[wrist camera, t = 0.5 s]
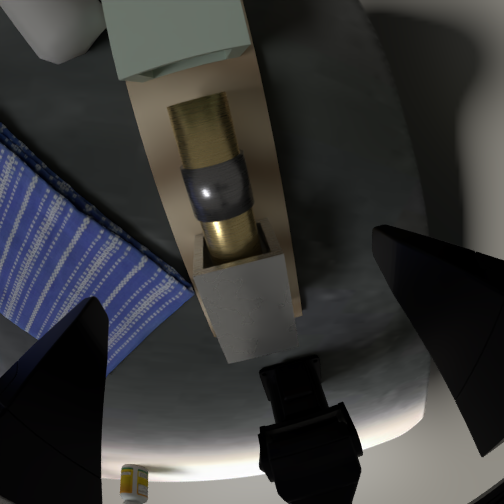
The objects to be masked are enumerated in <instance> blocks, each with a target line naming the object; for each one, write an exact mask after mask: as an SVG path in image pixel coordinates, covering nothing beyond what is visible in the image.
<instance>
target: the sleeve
mask: <svg viewBox="0 0 504 504" xmlns="http://www.w3.org/2000/svg"><path fill="white" fill-rule="evenodd" d="M255 221H256V226H257V230H258V235H259V239H260V244H261V248H262V253H263V254H262V255H258V256H254V257H250V258H246V259H242V260H238V261H234V262H230V263H226V264H222V265H218V266H214V265H213V262H212V259H211V255H210V252H209V249H208V246H207V243H206V240H205V237H204V234H199V235H196V236H195V240H194V257H193V279H194V282H195V284H196V287H197V289H198V292H199V294H200V297H201V299H202V302H203V304H204V307H205V309H206V312H207V314H208V317H209V319H210V322H211V324H212V326H213V329H214V331H215V334H216V336H217V338H218V341H219V343H220V345H221V348H222V350H223V352H224V354H225V357H226V359H227V361H228V364H229V363H234V362H238V361H243V360H247V359H252V358H256V357H260V356H264V355H268V354H272V353H276V352H280V351H284V350H288V349H292V348H295V347H299V343H298V337H297V330H296V324H295V318H294V311H293V305H292V299H291V293H290V287H289V281H288V275H287V269H286V263H285V258H284V253H283V251H282V249H281V246H280V244H279V242H278V240H277V237H276V235H275V233H274V231H273V229H272V226H271V224H270V222H269V220H268V217H267V218H263V219H259V220H255Z"/></svg>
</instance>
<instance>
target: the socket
mask: <svg viewBox="0 0 504 504" xmlns="http://www.w3.org/2000/svg"><path fill="white" fill-rule="evenodd" d="M101 1H102V6H103V11H104V17H105V22H106V26H107V31H108V36H109V40H110V45H111V49H112V54H113V58H114V62H115V66H116V70H117V74H118V78H119V80H122V81H132V82H141V83H143V82H146V81H149V80H152V79H155V78H158V77H161V76H164V75H168V74H171V73H174V72H178V71H181V70H185V69H189V68H192V67H196V66H200V65H204V64H208V63H213V62H217V61H222V60H226V59H231V58H236V57H240V56H241V54H242V53H243V52H244V51H245V50H246V49H247V48H248V47H249V46H250V45H251V42H250V38H249V34H248V30H247V26H246V22H245V17H244V13H243V9H242V5H241V2H240V0H101Z"/></svg>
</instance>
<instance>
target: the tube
mask: <svg viewBox="0 0 504 504" xmlns="http://www.w3.org/2000/svg"><path fill="white" fill-rule="evenodd" d="M0 6H1V7H2V9H3V10H4V11H5V13H6V14H7V15H8V17H9V18H10V20H11V21H12V22H13V24H14V25H15V26H16V28H17V29H18V30H19V32H20V33H21V34H22V36H23V37H24V38H25V40H26V41H27V42H28V43H29V45H30V46H31V47H32V49H33V50H34V51H35V53H36V54H37V55H38V56H39V58H41V59H44V60H47V61H50V62H53V63H56V64H60V63H63V62H66V61H68V60H71V59H73V58H75V57H78V56H80V55H83V54H86V52H87V51H88V50H89V48H90V47H91V46H92V44H93V43H94V42H95V40H96V39H97V38H98V37H99V35H100V34H101V33H102V32H103V31H104V30H105V29H106V28H107V26H106V22H105V17H104V11H103V6H102V4H101V3H100V2H99V1H98V0H0Z"/></svg>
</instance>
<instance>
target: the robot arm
mask: <svg viewBox="0 0 504 504" xmlns="http://www.w3.org/2000/svg"><path fill="white" fill-rule="evenodd" d="M372 252H373V256H374V258H375V260H376V262H377V264H378V266H379V268H380V270H381V271H382V273H383V275H384V277H385V279H386V281H387V283H388V285H389V287H390V289H391V291H392V293H393V294H394V296H395V298H396V299H397V301H398V302H399V304H400V305H401V307H402V309H403V310H404V312H405V313H406V315H407V317H408V318H409V320H410V321H411V323H412V325H413V326H414V328H415V330H416V331H417V333H418V335H419V336H420V338H421V340H422V341H423V343H424V345H425V346H426V348H427V350H428V352H429V353H430V355H431V357H432V358H433V360H434V362H435V364H436V366H437V368H438V369H439V371H440V373H441V375H442V377H443V378H444V380H445V382H446V384H447V386H448V388H449V390H450V392H451V394H452V396H453V397H454V399H455V400H456V401H455V402H456V404H457V406H458V408H459V410H460V412H461V414H462V416H463V418H464V420H465V422H466V424H467V426H468V428H469V431H470V433H471V435H472V437H473V440H474V442H475V444H476V446H477V449H478V451H479V453H480V455H481V457H484V456H485V455H487V454H488V453H489V452H491V451H492V450H494V449H495V448H496V447H498V446H499V445H500V444H502V443H503V442H504V260H501V259H498V258H494V257H492V256H488V255H485V254H482V253H479V252H476V253H475V251H473V250H470V249H467V248H464V247H460V246H457V245H454V244H451V243H448V242H445V241H441V240H438V239H435V238H431V237H428V236H424V235H421V234H418V233H414V232H411V231H407V230H404V229H400V228H396V227H393V226H389V225H380V226H376V227H374V228H373V232H372ZM108 334H109V318H108V315H107V313H106V311H105V310H104V308H103V306H102V305H101V303H100V301H99V300H98V298H97V297H95V296H91V297H87V298H84V299H83V300H82V301H81V302H80V303H78V304H77V305H76V306H75V307H74V308H73V309H72V310H71V311H69V312H68V313H67V314H66V315H65V316H64V317H63V318H62V319H61V320H60V321H58V322H57V323H56V324H55V325H54V326H53V327H52V328H51V329H50V330H49V331H48V332H47V333H46V334H44V335H43V336H42V337H41V338H40V339H39V340H38V341H37V342H36V343H35V344H34V345H33V346H32V347H31V348H30V349H29V350H28V351H27V352H26V353H25V354H24V355H23V356H22V357H21V358H20V359H19V361H17V362H16V363H15V364H14V365H13V366H12V367H11V368H10V369H9V370H8V371H7V372H6V373H5V374H4V375H3V376H2V377H1V378H0V504H102V483H101V440H102V418H103V403H104V391H105V381H106V371H107V361H108ZM259 375H260V378H261V381H262V384H263V387H264V390H265V392H266V395H267V398H268V401H271V405H272V410H273V414H274V419H275V423H276V424H272V425H268V426H261V427H260V433H259V434H258V438H259V444H260V458H259V468H260V470H261V471H263V472H265V473H266V475H267V476H268V479H269V480H270V482H275V485H276V489H277V492H278V494H279V496H281V498H282V499H283V500H284V501H286V502H287V503H288V504H352V501H353V497H354V494H355V491H356V487H357V484H358V481H359V477H360V474H361V466H360V463H359V460H358V457H360V456H362V455H363V451H362V446H361V443H360V439H359V436H358V434H357V431H356V429H355V426H354V424H353V422H352V420H351V418H350V416H349V413H348V411H347V409H346V407H345V405H344V403H343V402H340V403H338V404H337V405H334V406H332V407H329V406H328V403H327V400H326V397H325V394H324V392H323V389H322V386H321V372H320V359H319V357H318V356H317V355H314V356H311V357H307V358H303V359H300V360H296V361H292V362H289V363H285V364H281V365H277V366H273V367H269V368H265V369H261V370H260V371H259ZM468 504H504V478H503V479H502V480H501V481H499V482H498V483H497V484H496V485H494V486H493V487H491V488H490V489H489V490H487V491H486V492H484V493H483V494H481V495H480V496H479V497H477V498H476V499H474V500H473V501H471V502H470V503H468Z"/></svg>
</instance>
